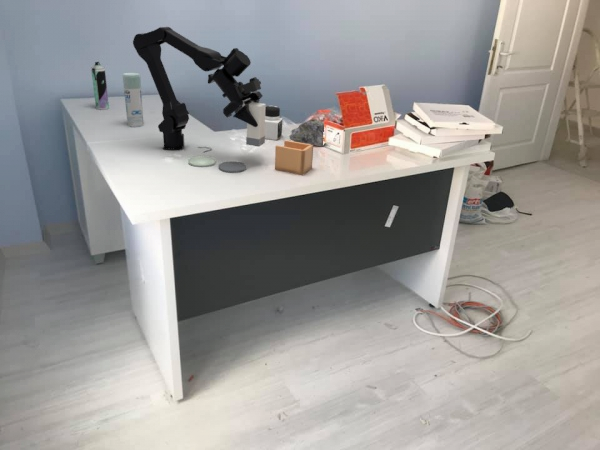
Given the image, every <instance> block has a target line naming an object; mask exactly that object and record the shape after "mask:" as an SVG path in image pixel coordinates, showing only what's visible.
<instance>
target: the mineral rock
mask: <svg viewBox="0 0 600 450" xmlns="http://www.w3.org/2000/svg"><path fill="white" fill-rule="evenodd" d="M324 122H325V121H319V120H318V119H317V118H311V119H309V120H307V121H305V122H303V123H301V124H300V125H298V127H296V128H293V129H292V130H291V134H290V135H289V136H288V137H289V139H290V141H294V142H300V143H305V144H311V145H314V146H317V147H324V146H323V139H324V138H323V132H324Z"/></svg>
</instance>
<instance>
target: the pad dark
mask: <svg viewBox="0 0 600 450" xmlns="http://www.w3.org/2000/svg"><path fill="white" fill-rule="evenodd" d="M217 168H218V170H219V171H221V172H223V173H231V174H232V173H233V174H234V173H235V174H236V173H241V172H244V171H246V170H247V164H246V163H244V162H241V161H237V160H236V161H235V160H233V161H232V160H230V161H229V160H227V161H223V162H220V163H219V164H218V167H217Z"/></svg>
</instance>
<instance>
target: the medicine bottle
mask: <svg viewBox="0 0 600 450" xmlns="http://www.w3.org/2000/svg"><path fill="white" fill-rule="evenodd" d="M280 114H281V108H280V107H278V106H277V105H276V106H275V105H268V106H266V107H265V140H273V141H279V139H280V138H282V135H283V118H281V117H280V116H281V115H280Z"/></svg>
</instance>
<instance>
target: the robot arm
mask: <svg viewBox="0 0 600 450" xmlns="http://www.w3.org/2000/svg"><path fill="white" fill-rule="evenodd" d="M132 44H133V47H134V49H135V51H136V53H137V54H138V56H139V57H140V58H141V59H142V60H143V61H144V62H145V63H146V65H147V68H148V70H149V73H150V75H151V77H152V80H153V82H154V85H155V88H156V89H157V90H156V91H157V93H158V95H159V98H160V100H161V102H162V111H161V112H162V113H161V114H162V117H163V120H161V122H160V123H159V124H158V126H157V128H158V131H159V133H162V137H163V147H162V150H173V151H174V150H178V151H179V150H180V151H182V150H183V147H185V135H184V133H183V130H184V129H186V126H187V124H188V122H189V120H190V112H189V111H188V108H187V105H186V103H185V102H182V103H181V102H180V101H179V100H178V99H177V96H176V95H175V91H174V89H173V86H172V83H171V82H170V79H169V77H168V73H167V72H166V69H165V66H164V64H163V62H162V58H161V57H162V56H161V55H162V47H161V45H163V44H168V45H169V46H171V47H173V48H174V49H176V50H177V51H179V52H180V53H183V55H184V54H185V55H186V56H188V58H190V59H191V60H192V61H193V62H194V64H195V65H196V67H198V68H199V69H200V70H202V71H203V72H210V71H214V72H213V73H209V74H208V75H207V76H208V77H207V84H212V83H213V84H214V83H215V84H216V85H217V87H218V88H219V90H220V91H221V92H222V97H223V98H227V100H228V101H229V103H228V104H227V105H226V106H224V108H223V109H222V110H223V111H222V114H224V116H225V118H226V119H227V118H230V117H233V118H236V119H238V120H240V121H242V122H244V123H246V124H247V123H248V124H250V125H252V126H254V127H257V126H258V124H257V122H256V121H255V119H254V117H253V116H252V114H251V113H250V111H249V104H250V103H252V102H255V103H259V102H260V100H261V99H262V98H263V94H262V93H261V92H260V91H259V90H261V89H262V87H261V84H262V82H261V80H259V78H258V77H256V76H255V77H252V78H249V82H247V83H245V84H244V82H242V81H237V79H236V78H235V77H240V75H242V74H243V73H244V72H245V71H246V69H247V68H248V67H250V66H251V63H252V62H251V59H250V57H248V55H247V54H246V53H244V52H243V51H241V50H239V48H238V47H235V48H233V49H231V51H230V53H228V55H227V56H224V55H222V54H221V53H220V52H219V51H217V50H215V49H211V48H208V47H205V46H201V45H199V44H197V43H196V42H193V41H191V40H190V39H189V38H186V37H185V36H183V35H182V34H180V33H178V32H177V31H175V30H173V28H171V27H169V26H164V27H163V26H160V27H158V28H156V29H154V30H151V31H148V32H145V33H144V32H142V33H137V34H135V35H134V37H133V40H132ZM221 67H222V68H221ZM233 113H234V114H233Z"/></svg>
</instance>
